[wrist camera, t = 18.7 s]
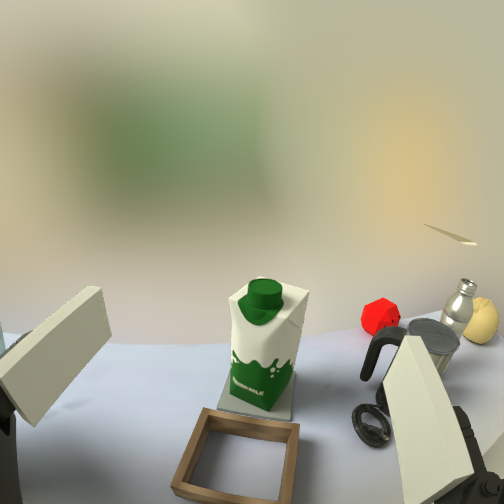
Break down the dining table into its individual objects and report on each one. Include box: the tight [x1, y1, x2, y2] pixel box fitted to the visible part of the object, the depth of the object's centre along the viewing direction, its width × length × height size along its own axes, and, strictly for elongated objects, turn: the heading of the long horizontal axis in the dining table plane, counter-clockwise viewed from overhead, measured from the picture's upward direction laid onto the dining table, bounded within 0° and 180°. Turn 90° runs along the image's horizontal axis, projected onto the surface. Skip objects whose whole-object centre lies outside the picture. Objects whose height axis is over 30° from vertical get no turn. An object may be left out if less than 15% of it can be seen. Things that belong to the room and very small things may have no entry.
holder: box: [170, 407, 300, 504], centre depth 27 cm, size 13×13×4 cm
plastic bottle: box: [440, 278, 477, 374], centre depth 40 cm, size 6×7×20 cm
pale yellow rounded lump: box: [463, 297, 499, 344], centre depth 51 cm, size 12×12×11 cm
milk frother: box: [352, 318, 460, 447], centre depth 33 cm, size 14×16×15 cm
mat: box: [217, 369, 295, 422], centre depth 41 cm, size 11×11×1 cm
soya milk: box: [229, 276, 309, 412], centre depth 37 cm, size 9×9×20 cm
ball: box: [361, 298, 401, 336], centre depth 56 cm, size 8×8×8 cm
